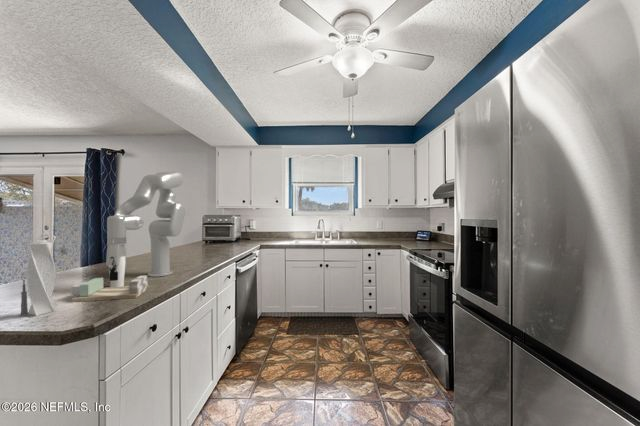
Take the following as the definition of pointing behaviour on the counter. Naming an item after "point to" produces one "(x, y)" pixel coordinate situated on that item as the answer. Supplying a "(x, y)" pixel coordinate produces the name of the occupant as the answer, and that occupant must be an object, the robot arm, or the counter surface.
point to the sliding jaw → (88, 287)
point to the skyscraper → (39, 279)
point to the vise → (117, 291)
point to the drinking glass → (119, 273)
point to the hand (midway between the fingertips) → (117, 278)
